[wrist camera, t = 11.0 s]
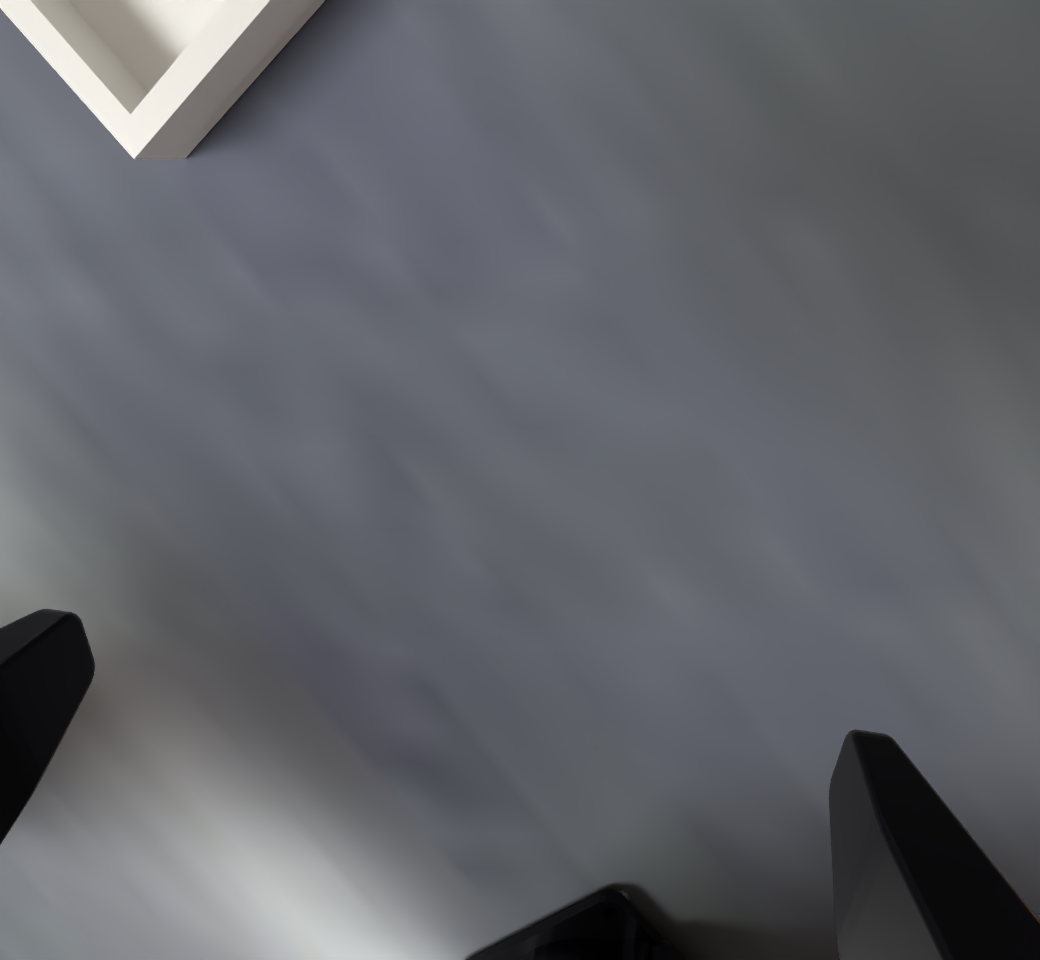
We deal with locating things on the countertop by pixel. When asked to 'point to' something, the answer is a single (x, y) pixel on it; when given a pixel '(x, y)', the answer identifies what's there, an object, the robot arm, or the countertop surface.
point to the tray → (159, 60)
